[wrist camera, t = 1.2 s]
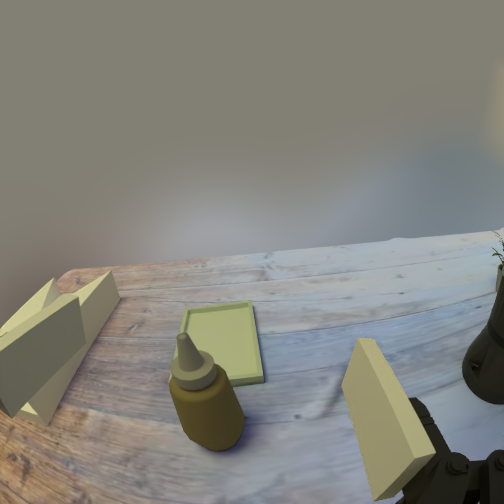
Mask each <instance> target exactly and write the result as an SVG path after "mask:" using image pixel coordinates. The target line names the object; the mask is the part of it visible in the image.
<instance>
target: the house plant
mask: <svg viewBox="0 0 504 504" xmlns="http://www.w3.org/2000/svg"><path fill="white" fill-rule="evenodd" d="M493 232H494V231H493ZM495 233H496V232H495ZM497 234H498V233H497ZM498 235H499V234H498ZM495 236H496V235H495ZM499 236H500V235H499ZM497 237H498V236H497ZM501 239H502V238H501ZM502 241H503V240H502ZM500 242H501V241H500ZM503 244H504V242H502V245H503ZM503 247H504V245H503ZM493 249H494V248H493ZM494 250H495V249H494ZM495 251H496V250H495ZM503 251H504V249H503ZM496 252H497V251H496ZM494 255H501V254H499V253H498V252H497V253H494V254H493V255H492V256H494ZM501 256H502V255H501ZM499 257H500V256H499ZM502 257H503V256H502ZM503 258H504V257H503ZM500 259H501V258H500ZM501 261H502V260H501ZM503 266H504V261H502V264H500V265H499V266H498V274H497V283H496V292H497V293H498V290H499V286H500V283H501V279H502V275H503V274H502V269H503Z"/></svg>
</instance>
